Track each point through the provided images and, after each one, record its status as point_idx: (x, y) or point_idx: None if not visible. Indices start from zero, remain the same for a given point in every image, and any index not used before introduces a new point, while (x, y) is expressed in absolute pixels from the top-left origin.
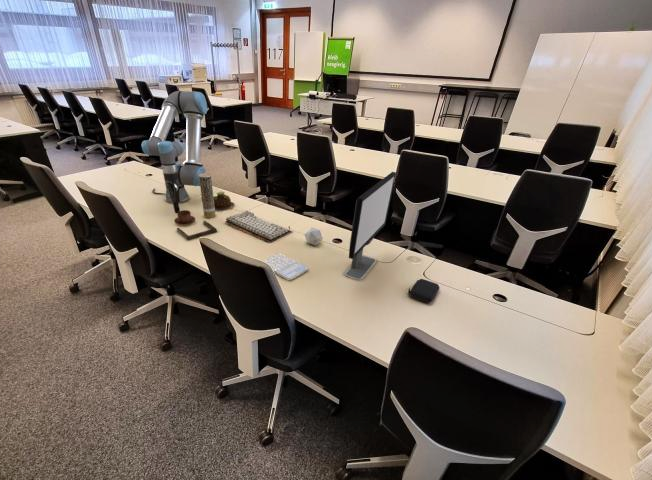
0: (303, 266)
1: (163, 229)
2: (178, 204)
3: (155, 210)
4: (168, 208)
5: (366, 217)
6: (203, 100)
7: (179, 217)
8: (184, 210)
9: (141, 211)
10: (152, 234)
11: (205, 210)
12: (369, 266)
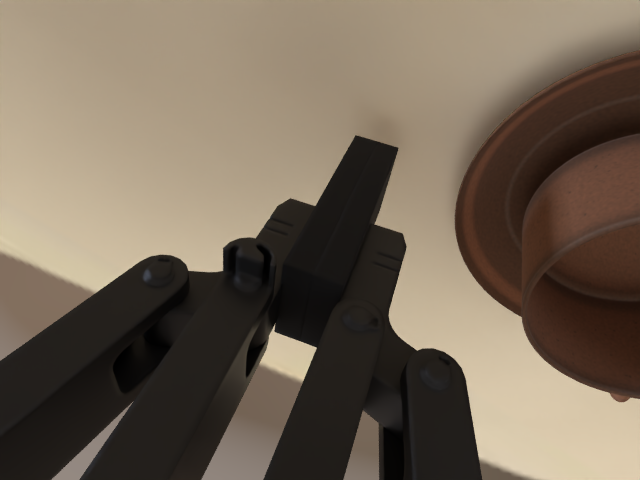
0: None
1: (504, 387)
2: (358, 247)
3: (36, 146)
4: (13, 3)
5: None
6: None
7: (635, 365)
8: (592, 238)
9: (26, 226)
10: (497, 453)
11: None
12: None
